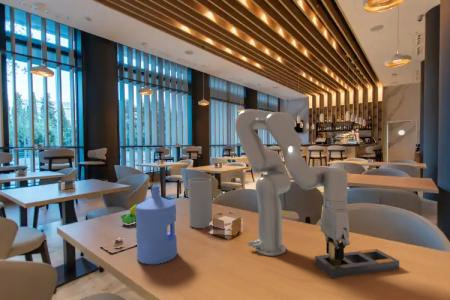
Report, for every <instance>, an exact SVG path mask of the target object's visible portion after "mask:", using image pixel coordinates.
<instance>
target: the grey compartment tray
mask: <svg viewBox="0 0 450 300" xmlns="http://www.w3.org/2000/svg"><path fill="white" fill-rule="evenodd" d="M314 265H315V266H316V267H317V268H318V269H320V271H322V272H324V274H326V275H327V276H328V277H329V278H330V279H332V280H333V279H339V278H347V277H353V276H362V275H368V274H369V275H370V274H375V273H382V272H388V271H389V272H390V271H391V272H392V271H397V270H400V260H399V259H396V258H395V257H393V256H391V255H389V254H387V253H385V252H383V251H381V250H379V249H377V248H375V249H373V248H372V249H371V248H370V249H364V250H358V251H350V252H344V259H341V265H338V266H333V265H331V264H330V263H329V254H324V255H317V256H314Z"/></svg>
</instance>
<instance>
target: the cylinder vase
mask: <svg viewBox="0 0 450 300" xmlns="http://www.w3.org/2000/svg"><path fill="white" fill-rule="evenodd" d="M187 182H188V183H187V184H188V186H187V187H188V188H187V189H188V219H189V220H188V221H189V223H188V224H189V227H190V226H191V227H190V228H192V227H195V228H194V229H196V228H203V229H205V228H204V227H208V226H209V223H210V222H211V221H212V222H213V192H212V190H213V189H212V178H209V177H208V178H207V177H206V178H205V177H195V178H191V179H188V181H187ZM208 228H209V227H208Z"/></svg>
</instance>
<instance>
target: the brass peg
mask: <svg viewBox="0 0 450 300" xmlns="http://www.w3.org/2000/svg"><path fill="white" fill-rule="evenodd" d="M340 242H341V241H339V243H340ZM335 248H336V244H335V240H330V241H329V254H328V255H329V263H330V264H331V265H333V266H338V265H341V259H340V260H336V259H335Z"/></svg>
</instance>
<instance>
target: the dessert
mask: <svg viewBox="0 0 450 300" xmlns="http://www.w3.org/2000/svg"><path fill="white" fill-rule="evenodd" d="M122 239H123V238H121V237H120V236H119V237H117V238H116V239H115V240H114V242H115V243H114V244H113V247H114V246H115V247H118V246H122V245H123V244H124V245H125V243H124V241H123V240H122Z"/></svg>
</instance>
